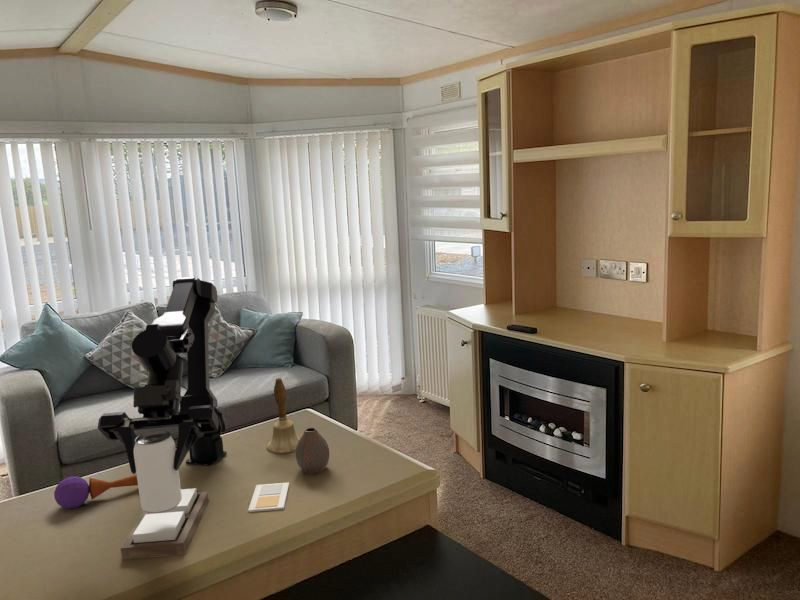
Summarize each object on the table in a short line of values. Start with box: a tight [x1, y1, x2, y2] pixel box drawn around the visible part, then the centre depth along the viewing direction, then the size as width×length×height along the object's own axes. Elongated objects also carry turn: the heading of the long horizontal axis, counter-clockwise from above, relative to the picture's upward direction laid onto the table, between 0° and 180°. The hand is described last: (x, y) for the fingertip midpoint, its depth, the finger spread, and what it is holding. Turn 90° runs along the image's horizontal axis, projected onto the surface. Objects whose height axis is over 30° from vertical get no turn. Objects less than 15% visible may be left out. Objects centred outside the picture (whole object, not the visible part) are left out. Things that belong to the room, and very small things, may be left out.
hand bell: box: [266, 377, 301, 454], centre depth 146 cm, size 8×8×16 cm
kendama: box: [53, 473, 138, 510], centre depth 128 cm, size 6×6×20 cm
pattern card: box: [247, 481, 290, 513], centre depth 124 cm, size 10×6×1 cm, turn 4°
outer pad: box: [133, 511, 186, 544], centre depth 110 cm, size 7×7×2 cm
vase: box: [295, 427, 330, 475], centre depth 134 cm, size 7×7×9 cm
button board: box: [120, 491, 210, 560], centre depth 114 cm, size 18×10×2 cm, turn 4°
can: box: [134, 430, 182, 513], centre depth 108 cm, size 6×6×12 cm
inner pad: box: [150, 488, 198, 515], centre depth 118 cm, size 7×7×2 cm
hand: (154, 471), depth 107 cm, fingers closed on can, 6 cm apart
